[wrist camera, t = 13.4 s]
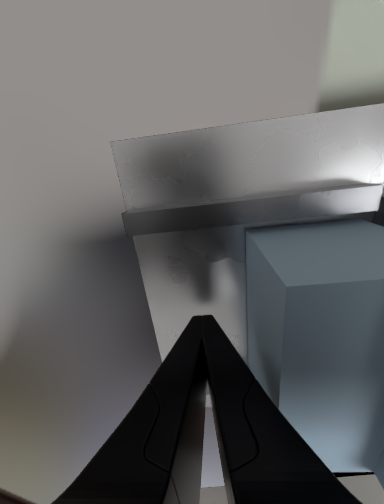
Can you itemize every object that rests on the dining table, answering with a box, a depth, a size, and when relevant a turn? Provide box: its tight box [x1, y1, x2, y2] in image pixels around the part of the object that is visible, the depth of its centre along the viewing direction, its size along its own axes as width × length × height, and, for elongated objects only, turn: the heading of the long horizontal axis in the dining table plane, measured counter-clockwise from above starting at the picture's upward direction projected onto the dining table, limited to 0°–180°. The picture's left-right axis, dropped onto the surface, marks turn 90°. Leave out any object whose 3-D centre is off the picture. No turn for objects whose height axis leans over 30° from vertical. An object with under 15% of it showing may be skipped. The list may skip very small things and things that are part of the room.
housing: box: [246, 219, 384, 490], centre depth 7 cm, size 7×4×5 cm, turn 7°
